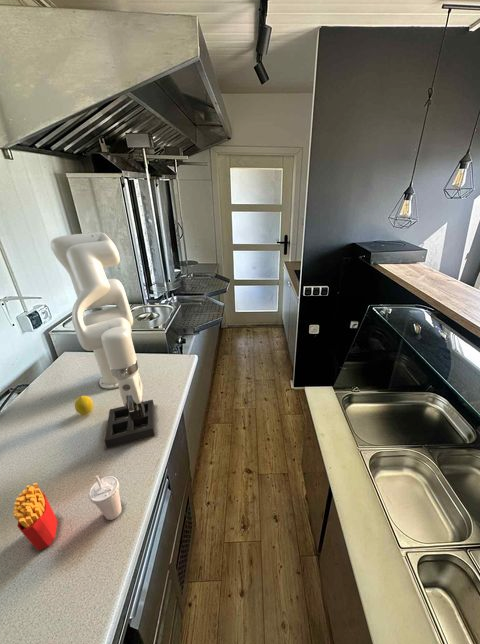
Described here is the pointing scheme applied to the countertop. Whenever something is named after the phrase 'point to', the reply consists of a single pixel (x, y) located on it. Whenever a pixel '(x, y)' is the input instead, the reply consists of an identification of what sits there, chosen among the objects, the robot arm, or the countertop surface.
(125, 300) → the robot arm
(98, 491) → the smoothie
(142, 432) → the socket pad
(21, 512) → the french fries
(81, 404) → the lemon
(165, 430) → the countertop surface
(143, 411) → the connector plug
